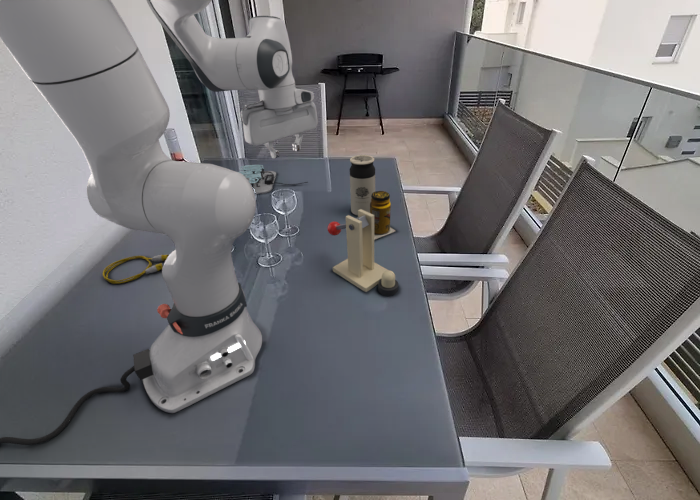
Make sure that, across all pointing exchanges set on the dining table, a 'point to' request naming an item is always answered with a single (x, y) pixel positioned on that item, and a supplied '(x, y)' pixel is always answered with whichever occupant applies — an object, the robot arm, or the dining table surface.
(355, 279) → the switch bracket
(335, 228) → the switch lever
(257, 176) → the neon sign
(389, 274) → the pilot lamp
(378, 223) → the condiment
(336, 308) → the dining table surface
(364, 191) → the travel mug
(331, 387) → the dining table surface
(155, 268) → the extension cord
